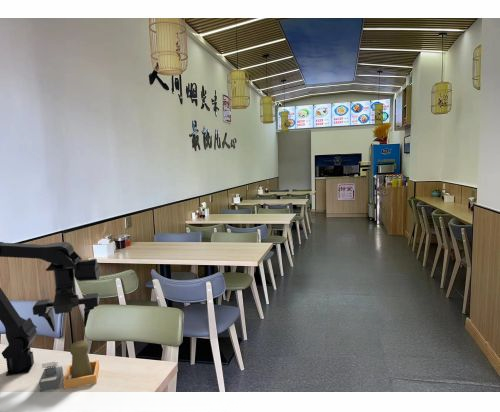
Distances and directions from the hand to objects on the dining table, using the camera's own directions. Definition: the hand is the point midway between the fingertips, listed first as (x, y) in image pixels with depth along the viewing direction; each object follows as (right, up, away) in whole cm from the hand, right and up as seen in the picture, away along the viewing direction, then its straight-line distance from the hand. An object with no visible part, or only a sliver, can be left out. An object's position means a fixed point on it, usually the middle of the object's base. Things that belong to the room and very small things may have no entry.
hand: (69, 328), depth 124 cm
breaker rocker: (-1, -8, -10) cm, 13 cm away
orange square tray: (+7, -13, -7) cm, 16 cm away
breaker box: (-1, -13, -9) cm, 16 cm away
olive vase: (+7, -13, -7) cm, 16 cm away
